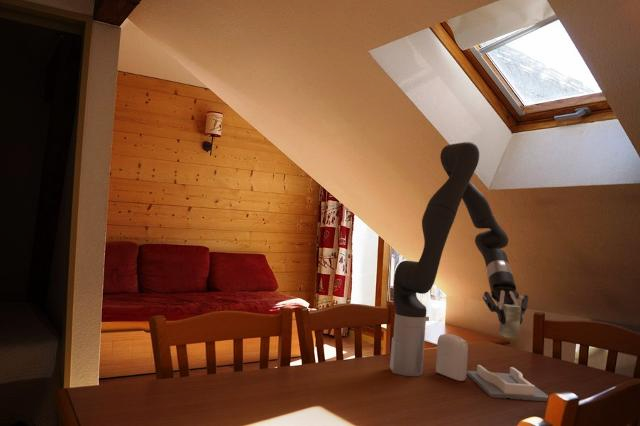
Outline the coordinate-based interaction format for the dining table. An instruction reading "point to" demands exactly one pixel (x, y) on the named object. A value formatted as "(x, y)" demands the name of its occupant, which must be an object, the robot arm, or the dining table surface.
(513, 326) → the sage hanger block
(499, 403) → the dining table surface
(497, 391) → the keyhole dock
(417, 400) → the dining table surface
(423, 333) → the robot arm
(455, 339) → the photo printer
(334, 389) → the dining table surface
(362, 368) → the dining table surface
